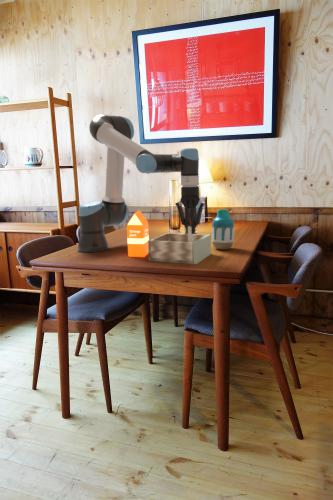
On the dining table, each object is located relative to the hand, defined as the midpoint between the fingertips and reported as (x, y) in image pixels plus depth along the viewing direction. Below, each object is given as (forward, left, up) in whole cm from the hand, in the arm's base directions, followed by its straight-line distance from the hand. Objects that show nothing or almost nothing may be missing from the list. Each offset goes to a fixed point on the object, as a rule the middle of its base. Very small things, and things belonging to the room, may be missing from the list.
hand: (190, 241), depth 167 cm
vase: (+8, +22, -8) cm, 25 cm away
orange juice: (-26, 0, -8) cm, 27 cm away
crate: (-6, 0, -8) cm, 10 cm away
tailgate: (+6, 0, -8) cm, 10 cm away
